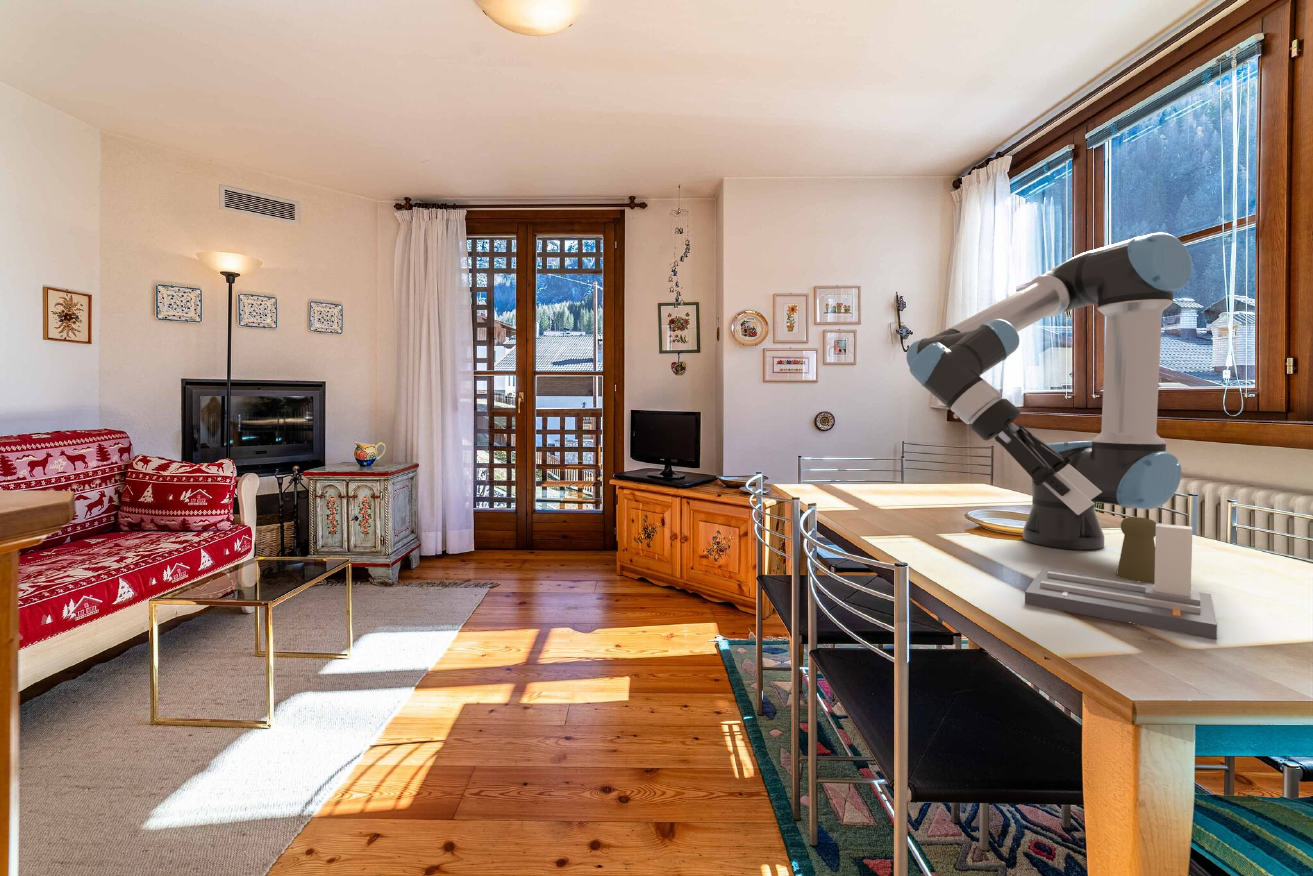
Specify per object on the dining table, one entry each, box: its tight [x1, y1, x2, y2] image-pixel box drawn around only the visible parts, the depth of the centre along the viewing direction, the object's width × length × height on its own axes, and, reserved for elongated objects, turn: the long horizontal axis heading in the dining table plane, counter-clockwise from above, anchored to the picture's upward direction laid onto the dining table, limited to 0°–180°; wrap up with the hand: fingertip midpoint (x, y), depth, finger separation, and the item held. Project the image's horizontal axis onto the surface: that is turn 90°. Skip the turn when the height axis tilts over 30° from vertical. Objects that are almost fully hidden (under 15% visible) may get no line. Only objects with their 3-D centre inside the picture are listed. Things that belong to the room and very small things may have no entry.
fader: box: [1145, 522, 1200, 606], centre depth 84 cm, size 5×6×11 cm
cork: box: [1116, 516, 1157, 584], centre depth 102 cm, size 6×6×11 cm
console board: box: [1024, 568, 1218, 640], centre depth 89 cm, size 16×22×3 cm
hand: (1090, 503), depth 91 cm, fingers open, 13 cm apart
